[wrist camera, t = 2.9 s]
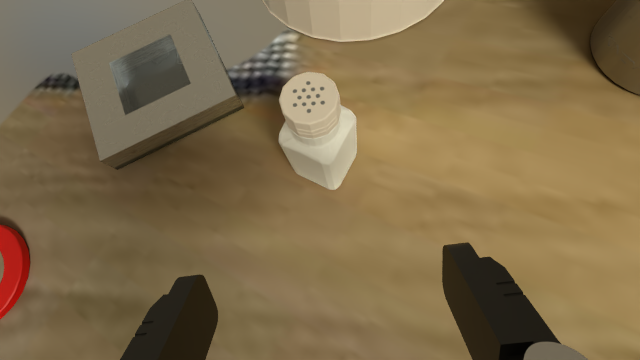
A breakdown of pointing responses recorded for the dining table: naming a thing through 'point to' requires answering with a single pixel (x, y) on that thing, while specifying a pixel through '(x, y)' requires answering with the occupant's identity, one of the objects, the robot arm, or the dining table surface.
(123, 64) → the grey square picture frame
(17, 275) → the tow hook
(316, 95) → the salt shaker
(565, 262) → the dining table surface
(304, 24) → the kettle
